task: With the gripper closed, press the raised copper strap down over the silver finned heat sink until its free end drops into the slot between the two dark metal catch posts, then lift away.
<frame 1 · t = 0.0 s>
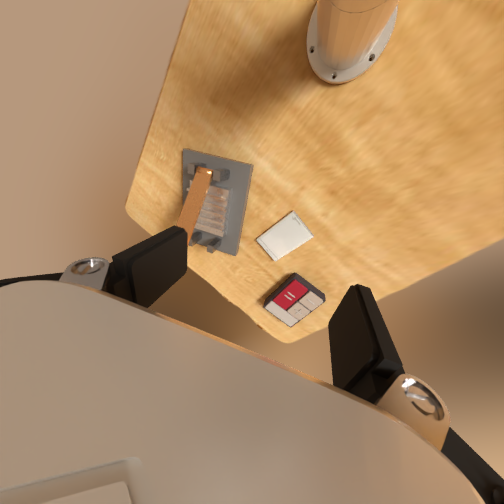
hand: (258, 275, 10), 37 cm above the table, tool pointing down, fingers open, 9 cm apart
calculator: (293, 296, 57), on the table
grey mounting plate: (215, 205, 50), on the table
retention strap: (190, 211, 39), point 12 cm above the table, hinge at 35.0°
heat sink: (206, 210, 46), on the grey mounting plate, point 5 cm above the table
hard drive: (284, 236, 49), on the table
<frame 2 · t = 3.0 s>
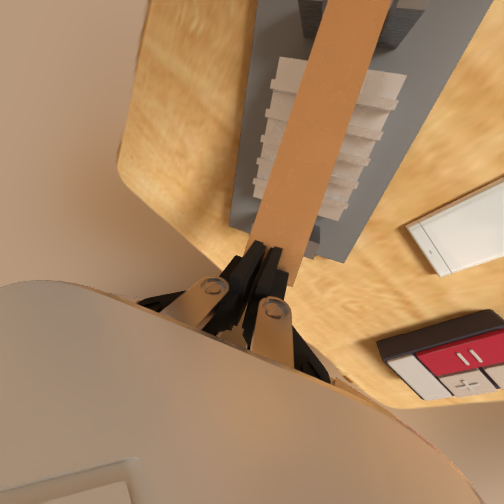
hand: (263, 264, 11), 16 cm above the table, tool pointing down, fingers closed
calculator: (444, 346, 29), on the table
grey mounting plate: (314, 149, 22), on the table
retention strap: (315, 130, 12), point 11 cm above the table, hinge at 30.7°, touching gripper
heat sink: (312, 149, 18), on the grey mounting plate, point 5 cm above the table
hard drive: (484, 220, 20), on the table
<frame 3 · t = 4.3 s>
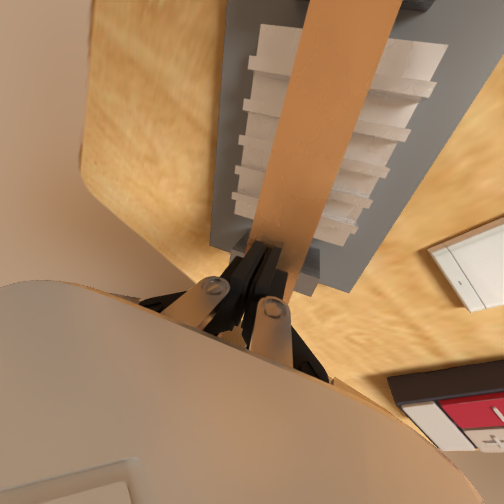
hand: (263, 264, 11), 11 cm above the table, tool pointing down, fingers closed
calculator: (468, 389, 24), on the table
grey mounting plate: (311, 153, 17), on the table
retention strap: (306, 154, 10), point 8 cm above the table, hinge at 13.2°, touching gripper
heat sink: (308, 154, 13), on the grey mounting plate, point 5 cm above the table
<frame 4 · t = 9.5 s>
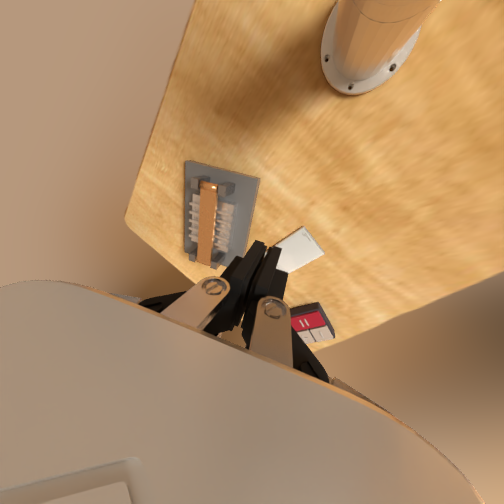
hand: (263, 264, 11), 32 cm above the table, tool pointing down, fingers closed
calculator: (301, 320, 55), on the table
grey mounting plate: (218, 219, 47), on the table
retention strap: (206, 227, 42), point 6 cm above the table, hinge at -0.1°
heat sink: (210, 224, 43), on the grey mounting plate, point 5 cm above the table
hard drive: (292, 251, 46), on the table
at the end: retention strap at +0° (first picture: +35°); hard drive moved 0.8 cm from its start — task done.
